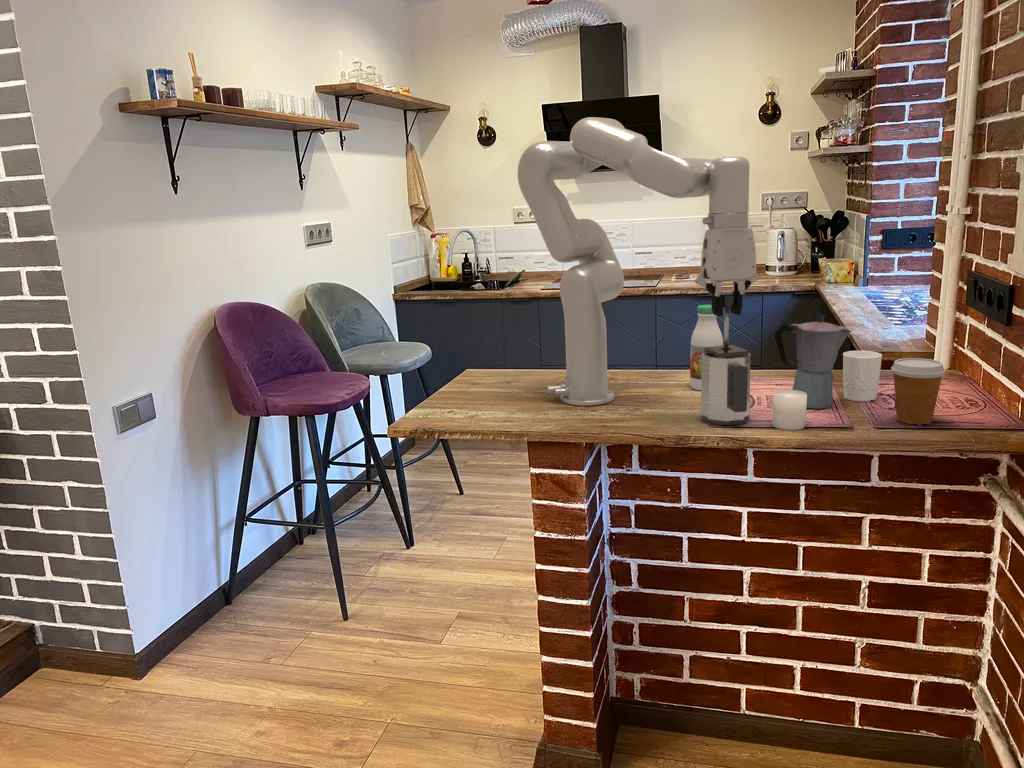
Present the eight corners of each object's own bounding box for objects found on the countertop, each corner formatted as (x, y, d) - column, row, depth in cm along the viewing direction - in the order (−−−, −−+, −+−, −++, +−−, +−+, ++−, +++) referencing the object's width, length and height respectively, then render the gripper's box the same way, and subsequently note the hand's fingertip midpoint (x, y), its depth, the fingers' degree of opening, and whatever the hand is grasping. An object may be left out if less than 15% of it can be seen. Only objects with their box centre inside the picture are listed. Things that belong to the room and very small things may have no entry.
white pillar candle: (782, 431, 157) (783, 399, 156) (766, 422, 164) (767, 391, 162) (812, 428, 159) (813, 396, 157) (794, 419, 165) (795, 388, 163)
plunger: (717, 365, 160) (719, 297, 157) (703, 359, 166) (704, 293, 163) (749, 362, 161) (750, 294, 158) (733, 356, 168) (734, 290, 164)
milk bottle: (688, 383, 197) (689, 303, 193) (720, 383, 196) (722, 302, 192) (691, 391, 190) (691, 308, 185) (724, 391, 189) (726, 307, 184)
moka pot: (851, 410, 169) (856, 317, 164) (775, 410, 172) (778, 318, 167) (842, 399, 178) (847, 310, 173) (770, 398, 181) (773, 311, 176)
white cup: (873, 393, 181) (876, 350, 179) (883, 402, 174) (886, 357, 171) (837, 393, 183) (839, 350, 180) (845, 402, 175) (847, 358, 173)
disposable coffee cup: (878, 421, 161) (882, 363, 158) (902, 411, 166) (906, 355, 163) (926, 431, 153) (931, 370, 151) (949, 420, 159) (954, 362, 156)
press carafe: (718, 431, 159) (719, 357, 156) (693, 415, 171) (693, 346, 167) (763, 426, 161) (765, 353, 158) (735, 411, 172) (736, 342, 169)
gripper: (697, 225, 152) (696, 320, 156) (776, 220, 155) (773, 314, 160) (681, 223, 159) (681, 315, 164) (757, 219, 162) (754, 309, 167)
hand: (726, 313), depth 162 cm, fingers closed on plunger, 3 cm apart
